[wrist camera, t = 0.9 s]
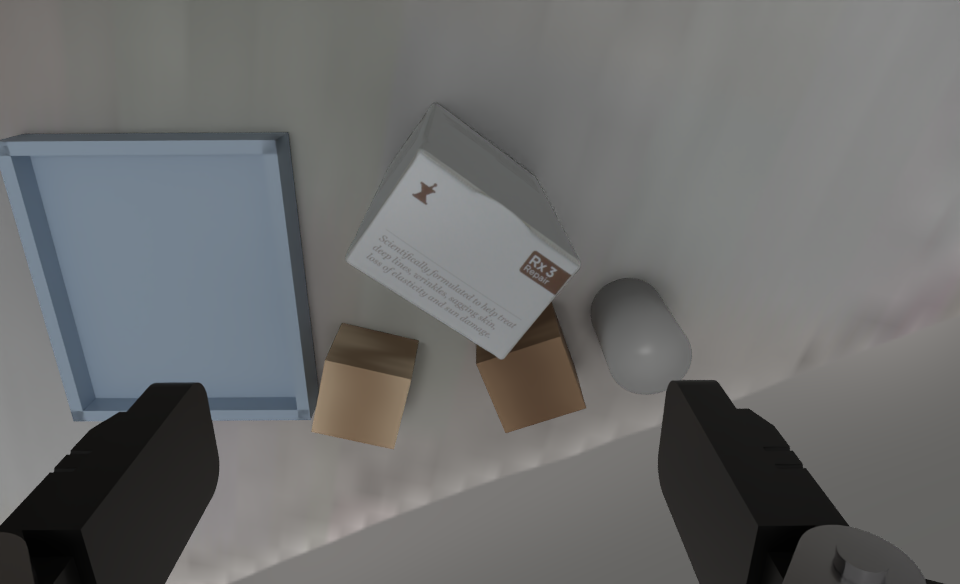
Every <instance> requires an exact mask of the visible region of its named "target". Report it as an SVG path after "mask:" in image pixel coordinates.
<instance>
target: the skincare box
mask: <svg viewBox="0 0 960 584" xmlns="http://www.w3.org/2000/svg"><path fill="white" fill-rule="evenodd" d="M345 260H346V262H347V263H348V264H350V265H351V266H353V267H354V268H356V269H358V270H359V271H361V272H362V273H364V274H366V275H367V276H369V277H371V278H372V279H374V280H375V281H377V282H379V283H380V284H382V285H383V286H385V287H387V288H388V289H390V290H391V291H393V292H394V293H396V294H398V295H399V296H401V297H402V298H404V299H406V300H407V301H409V302H410V303H412V304H414V305H415V306H417V307H418V308H420V309H422V310H423V311H425V312H426V313H428V314H429V315H431V316H433V317H434V318H436V319H438V320H439V321H441V322H442V323H444V324H446V325H447V326H449V327H450V328H452V329H454V330H455V331H457V332H458V333H460V334H461V335H463V336H465V337H466V338H468V339H469V340H471V341H472V342H474V343H476V344H477V345H479V346H480V347H482V348H484V349H485V350H487V351H488V352H490V353H492V354H493V355H495V356H496V357H497V358H499V359H501V360H502V359H504V358H505V357H506V356H507V355H508V353H509V352H510V351H511V350H512V349H513V347H514V346H515V345H516V344H517V342H518V341H519V340H520V339H521V338H522V336H523V335H524V334H525V333H526V332H527V330H528V329H529V328H530V327H531V325H532V324H533V323H534V322H535V321H536V319H537V318H538V317H539V316H540V315H541V313H542V312H543V311H544V310H545V309H546V307H547V306H548V305H549V304H550V303H551V302H552V300H553V299H554V298H555V297H556V296H557V294H558V293H559V292H560V291H561V290H562V289H563V287H564V286H565V285H566V284H567V283H568V282H569V280H570V279H571V278H572V277H573V276H574V275H575V273H576V272H577V271H578V270H579V269H580V266H581V262H580V260H579V258H578V256H577V254H576V252H575V251H574V248H573V246H572V245H571V243H570V241H569V239H568V237H567V235H566V233H565V231H564V230H563V228H562V226H561V224H560V222H559V220H558V218H557V216H556V215H555V213H554V211H553V209H552V207H551V205H550V203H549V201H548V199H547V198H546V196H545V194H544V192H543V190H542V188H541V186H540V184H539V182H538V180H537V179H536V177H535V176H534V175H532V174H531V173H530V172H528V171H527V170H526V169H524V168H523V167H522V166H520V165H519V164H518V163H516V162H515V161H514V160H512V159H511V158H510V157H508V156H507V155H506V154H504V153H503V152H502V151H500V150H499V149H498V148H496V147H495V146H494V145H492V144H491V143H490V142H488V141H487V140H486V139H485V138H483V137H482V136H481V135H479V134H478V133H477V132H475V131H474V130H473V129H471V128H470V127H469V126H467V125H466V124H465V123H463V122H462V121H461V120H459V119H458V118H457V117H455V116H454V115H453V114H451V113H450V112H449V111H447V110H446V109H445V108H443V107H442V106H441V105H439V104H437V103H433V104H432V105H431V107H430V108H429V110H428V111H427V112H426V114H425V115H424V117H423V118H422V120H421V121H420V122H419V124H418V125H417V127H416V128H415V130H414V131H413V132H412V134H411V135H410V137H409V138H408V140H407V141H406V142H405V144H404V145H403V147H402V148H401V150H400V151H399V153H398V154H397V156H396V157H395V159H394V160H393V162H392V163H391V165H390V166H389V168H388V169H387V171H386V174H385V176H384V179H383V181H382V183H381V185H380V187H379V189H378V191H377V193H376V195H375V197H374V198H373V201H372V203H371V205H370V207H369V209H368V211H367V213H366V215H365V217H364V219H363V221H362V223H361V225H360V227H359V229H358V231H357V234H356V237H355V239H354V240H353V242H352V243H351V245H350V247H349V249H348V251H347V254H346V259H345Z"/></svg>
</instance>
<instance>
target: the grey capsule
mask: <svg viewBox="0 0 960 584" xmlns="http://www.w3.org/2000/svg"><path fill="white" fill-rule="evenodd" d="M591 321H592V324H593V327H594V329H595V332H596V335H597V337H598V340H599V343H600V345H601V348H602V351H603V353H604V356H605V359H606V362H607V364H608V367H609V370H610V372H611V374H612V377H613V378H614V380H615V381H616V382H617V383H618V384H619V385H620V386H621V387H622V388H624V389H626V390H628V391H630V392H633V393H637V394H646V395H647V394H656V393H660V392H663V391H665V390H667V387H668V384H669V383H670V382H671V381H672V380H681V379H682V378H683V377H684V376H685V374H686V373H687V371H688V369H689V366H690V364H691V359H692V349H691V345H690V342H689V340H688V338H687V337H686V335H685V334H684V332H683V331H682V329H681V328H680V326H679V325H678V323H677V322H676V320H675V318H674V317H673V315H672V314H671V312H670V311H669V309H668V308H667V306H666V305H665V303H664V302H663V300H662V299H661V297H660V296H659V294H658V293H657V291H656V290H655V289H654V288H653V287H652V286H651V285H650V284H648V283H647V282H645V281H642V280H639V279H634V278H625V279H619V280H616V281H614V282H611V283H609V284H608V285H606V286H605V287H604V288H602V289H601V290H600V291H599V293H598V294H597V295H596V297H595V298H594V300H593V303H592V306H591Z"/></svg>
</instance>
